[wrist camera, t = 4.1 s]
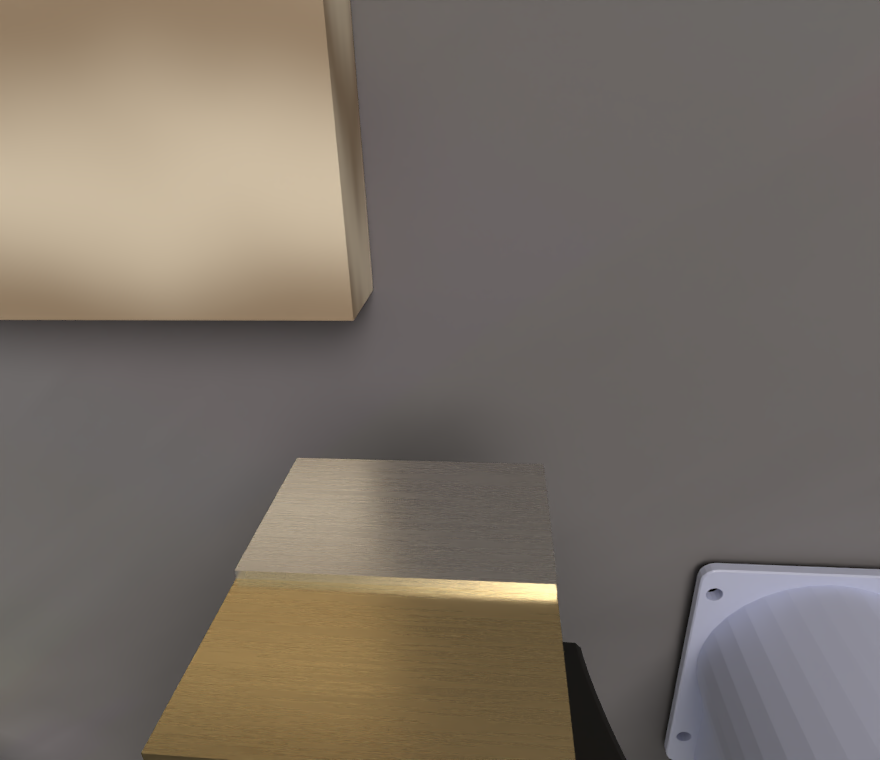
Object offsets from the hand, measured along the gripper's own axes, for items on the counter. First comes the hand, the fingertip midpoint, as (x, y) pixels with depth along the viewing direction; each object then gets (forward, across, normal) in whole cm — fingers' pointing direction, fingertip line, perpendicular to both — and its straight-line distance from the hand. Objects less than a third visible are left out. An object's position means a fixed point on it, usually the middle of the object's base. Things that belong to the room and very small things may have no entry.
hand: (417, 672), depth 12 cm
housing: (+2, 0, 0) cm, 2 cm away
